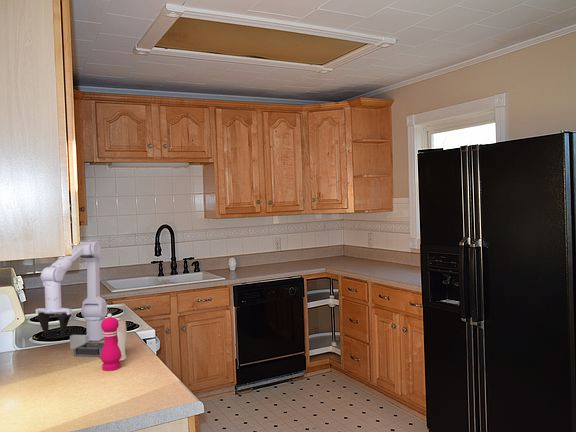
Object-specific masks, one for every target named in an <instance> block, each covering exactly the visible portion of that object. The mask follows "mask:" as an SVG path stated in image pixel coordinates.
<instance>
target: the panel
mask: <svg viewBox="0 0 576 432" xmlns="http://www.w3.org/2000/svg"><path fill="white" fill-rule="evenodd" d="M86 342H89V343H90V341H89V335H87V334H72V335H70V336H69V347H70V350H74V348H76V347H78V346H80V345H82V344H84V343H86Z"/></svg>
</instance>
